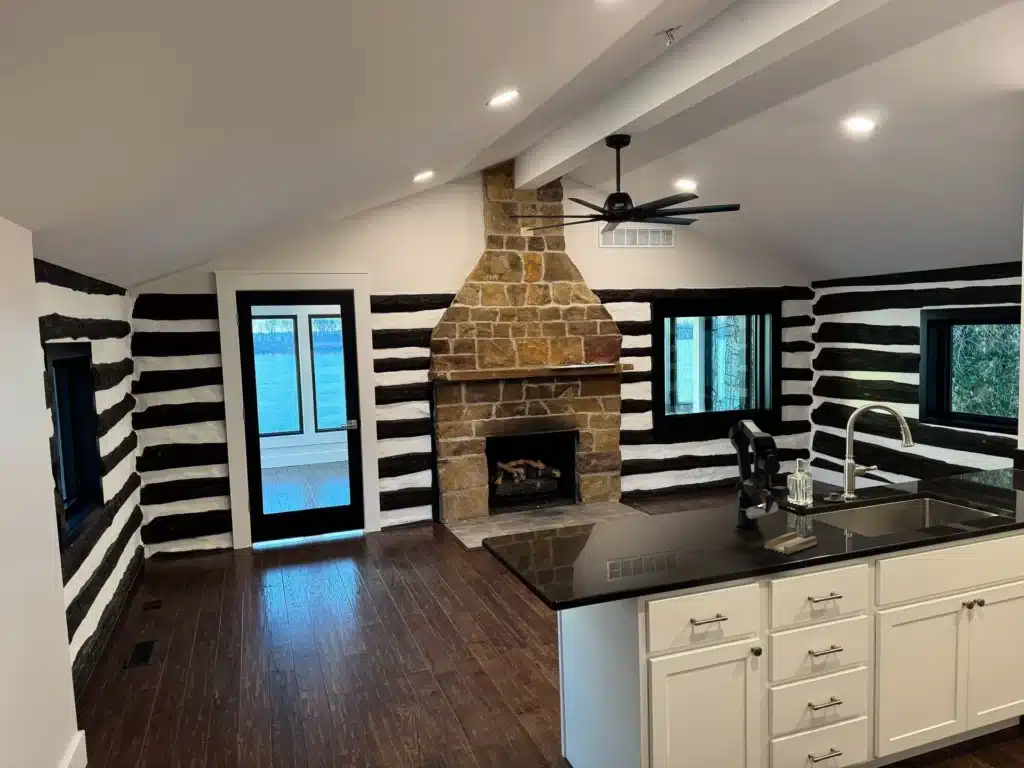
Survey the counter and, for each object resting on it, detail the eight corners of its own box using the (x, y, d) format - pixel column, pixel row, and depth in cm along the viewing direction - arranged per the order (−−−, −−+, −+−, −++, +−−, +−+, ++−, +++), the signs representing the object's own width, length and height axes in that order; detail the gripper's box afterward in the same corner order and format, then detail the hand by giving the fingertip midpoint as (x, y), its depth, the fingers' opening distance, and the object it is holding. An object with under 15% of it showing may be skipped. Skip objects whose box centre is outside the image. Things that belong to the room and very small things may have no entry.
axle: (755, 519, 259) (755, 508, 258) (745, 517, 262) (745, 506, 262) (778, 513, 267) (778, 502, 267) (768, 511, 270) (768, 500, 270)
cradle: (764, 548, 254) (764, 541, 254) (793, 538, 265) (793, 531, 265) (787, 554, 247) (788, 547, 247) (816, 543, 258) (816, 537, 258)
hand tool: (805, 514, 298) (806, 503, 298) (797, 515, 297) (797, 503, 297) (779, 504, 317) (779, 493, 316) (770, 504, 316) (771, 494, 315)
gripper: (726, 468, 266) (726, 510, 267) (772, 476, 251) (772, 520, 252) (745, 464, 272) (745, 505, 274) (790, 471, 258) (790, 515, 259)
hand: (762, 511), depth 264 cm, fingers closed on axle, 4 cm apart
